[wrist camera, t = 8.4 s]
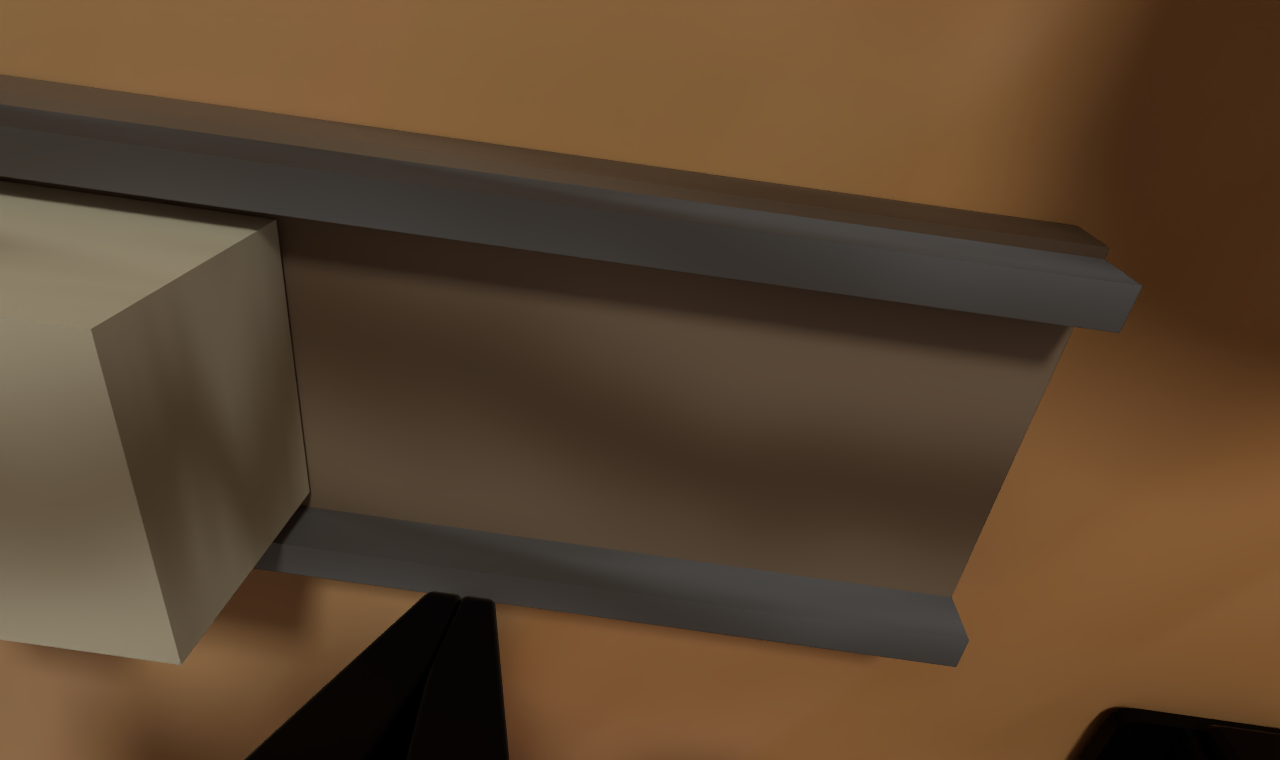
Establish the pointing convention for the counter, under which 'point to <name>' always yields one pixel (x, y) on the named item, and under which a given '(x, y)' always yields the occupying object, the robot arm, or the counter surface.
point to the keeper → (138, 418)
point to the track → (618, 366)
